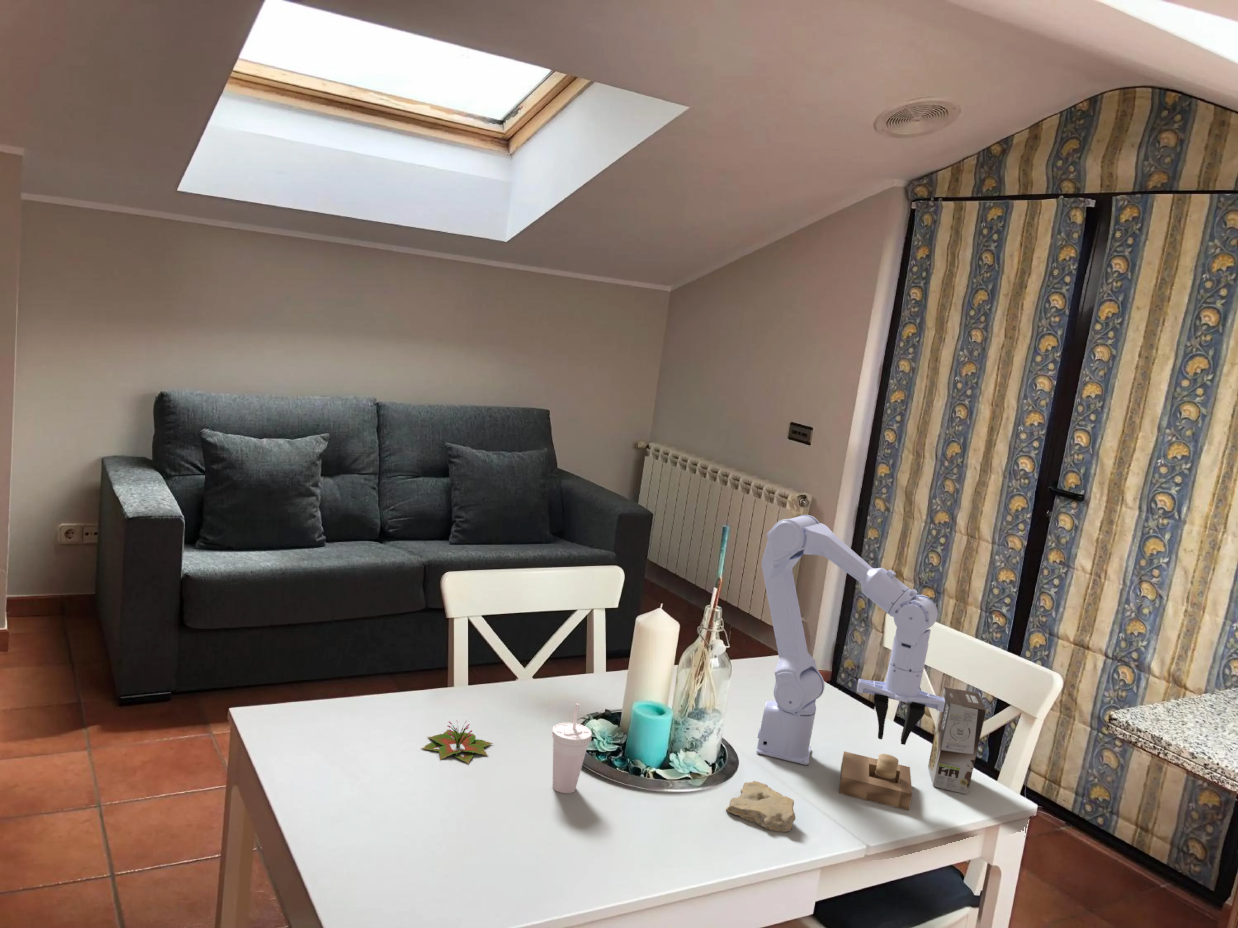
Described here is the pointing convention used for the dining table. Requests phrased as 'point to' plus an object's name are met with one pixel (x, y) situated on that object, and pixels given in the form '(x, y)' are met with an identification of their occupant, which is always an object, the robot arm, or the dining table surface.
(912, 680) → the robot arm
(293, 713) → the dining table surface
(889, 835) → the dining table surface
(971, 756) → the coffee box
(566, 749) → the smoothie
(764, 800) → the stone
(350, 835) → the dining table surface
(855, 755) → the board
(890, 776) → the peg
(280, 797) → the dining table surface
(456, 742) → the lily flower
